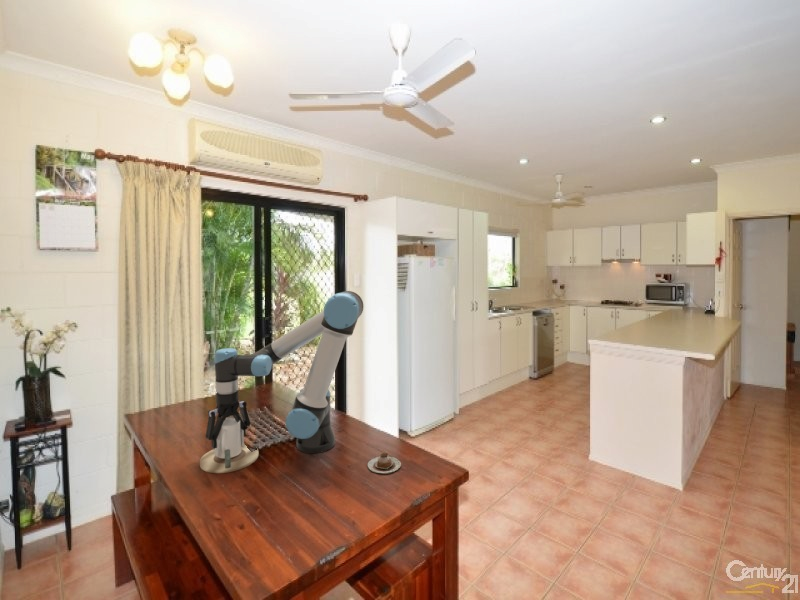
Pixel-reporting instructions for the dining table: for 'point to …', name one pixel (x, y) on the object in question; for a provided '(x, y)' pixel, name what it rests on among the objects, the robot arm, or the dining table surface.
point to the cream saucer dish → (228, 461)
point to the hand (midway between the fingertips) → (229, 450)
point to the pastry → (384, 463)
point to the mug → (230, 438)
